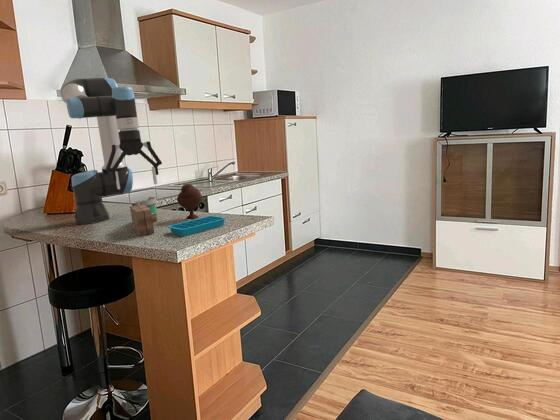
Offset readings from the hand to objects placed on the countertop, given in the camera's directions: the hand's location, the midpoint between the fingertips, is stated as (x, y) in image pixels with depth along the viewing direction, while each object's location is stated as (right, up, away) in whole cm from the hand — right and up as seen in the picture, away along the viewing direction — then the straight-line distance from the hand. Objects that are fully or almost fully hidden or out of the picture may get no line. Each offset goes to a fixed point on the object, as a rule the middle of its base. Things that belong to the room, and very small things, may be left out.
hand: (137, 186), depth 162 cm
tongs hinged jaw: (+2, -17, +6) cm, 18 cm away
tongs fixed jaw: (-1, -17, +7) cm, 19 cm away
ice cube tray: (+23, -17, +1) cm, 29 cm away
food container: (-2, -14, +24) cm, 28 cm away
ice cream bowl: (+16, -13, +23) cm, 31 cm away
